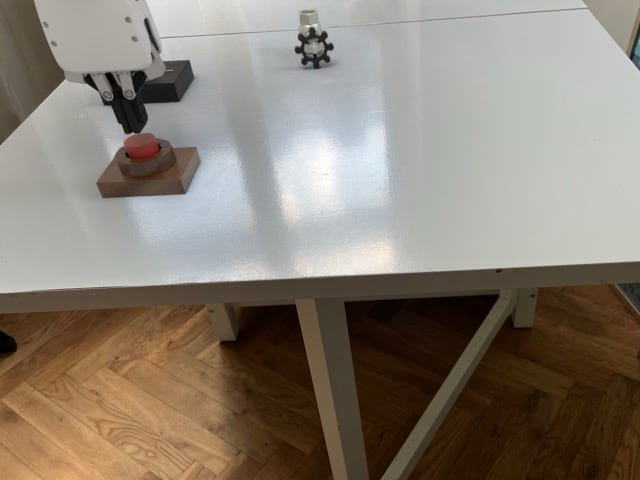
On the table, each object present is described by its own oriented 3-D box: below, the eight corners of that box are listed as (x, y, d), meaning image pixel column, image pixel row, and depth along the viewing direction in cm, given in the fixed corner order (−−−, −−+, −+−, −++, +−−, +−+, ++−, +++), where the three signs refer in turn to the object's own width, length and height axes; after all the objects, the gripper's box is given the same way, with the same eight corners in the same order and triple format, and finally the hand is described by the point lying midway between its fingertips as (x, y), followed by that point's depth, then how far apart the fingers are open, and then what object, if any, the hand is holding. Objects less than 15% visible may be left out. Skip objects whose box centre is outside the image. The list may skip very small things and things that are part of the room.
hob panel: (103, 105, 87) (96, 85, 85) (124, 81, 95) (118, 62, 92) (179, 101, 87) (173, 81, 85) (194, 77, 94) (189, 58, 92)
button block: (102, 199, 66) (89, 169, 63) (124, 165, 72) (113, 137, 69) (185, 195, 66) (176, 165, 63) (201, 161, 72) (192, 133, 69)
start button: (124, 161, 65) (119, 147, 64) (134, 146, 68) (129, 133, 67) (154, 159, 65) (150, 146, 64) (163, 145, 68) (158, 132, 67)
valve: (294, 48, 103) (297, 71, 95) (288, 9, 99) (291, 30, 90) (329, 44, 104) (335, 67, 95) (325, 6, 100) (331, 26, 91)
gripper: (159, -66, 55) (207, 111, 67) (10, -57, 55) (85, 118, 67) (135, -50, 49) (192, 140, 61) (-30, -40, 50) (59, 147, 62)
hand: (136, 128), depth 64 cm, fingers closed
